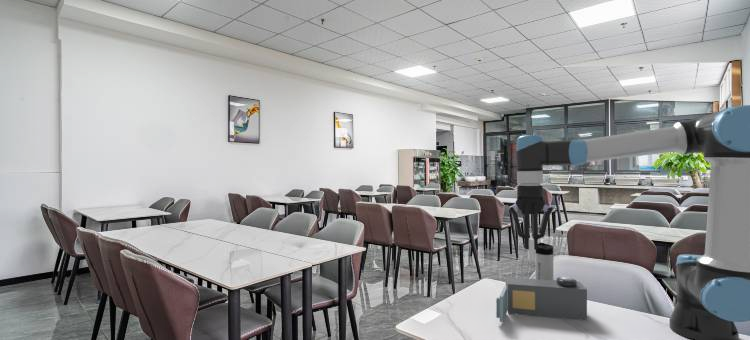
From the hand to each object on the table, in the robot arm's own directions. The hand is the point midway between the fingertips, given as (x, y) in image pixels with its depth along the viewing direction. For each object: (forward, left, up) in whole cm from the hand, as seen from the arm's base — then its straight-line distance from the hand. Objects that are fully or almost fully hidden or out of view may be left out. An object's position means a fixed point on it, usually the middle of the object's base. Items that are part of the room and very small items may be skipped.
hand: (531, 259), depth 113 cm
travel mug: (-9, -27, -21) cm, 35 cm away
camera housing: (-6, -11, -21) cm, 24 cm away
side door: (+9, -2, -20) cm, 21 cm away
